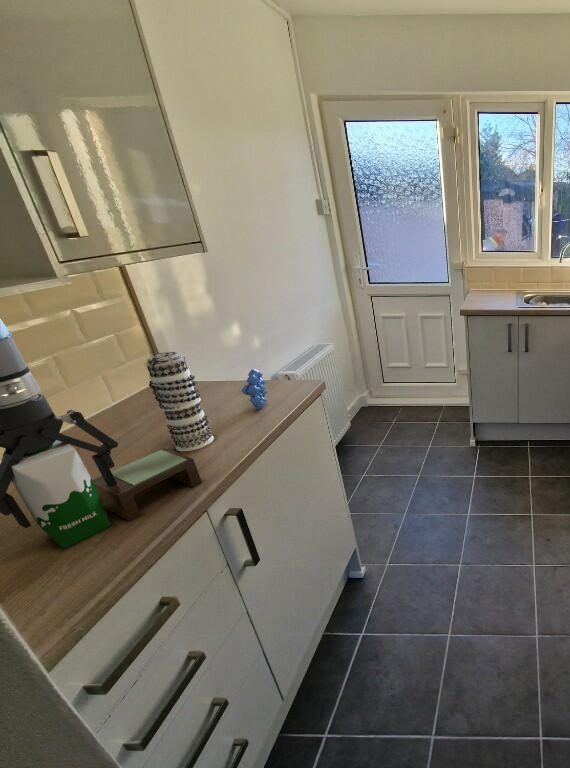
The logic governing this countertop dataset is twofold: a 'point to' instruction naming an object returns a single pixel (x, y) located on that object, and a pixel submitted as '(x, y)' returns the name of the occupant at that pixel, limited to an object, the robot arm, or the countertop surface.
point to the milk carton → (60, 494)
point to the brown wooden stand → (144, 480)
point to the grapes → (255, 389)
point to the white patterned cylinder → (179, 401)
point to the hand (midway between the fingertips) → (71, 502)
